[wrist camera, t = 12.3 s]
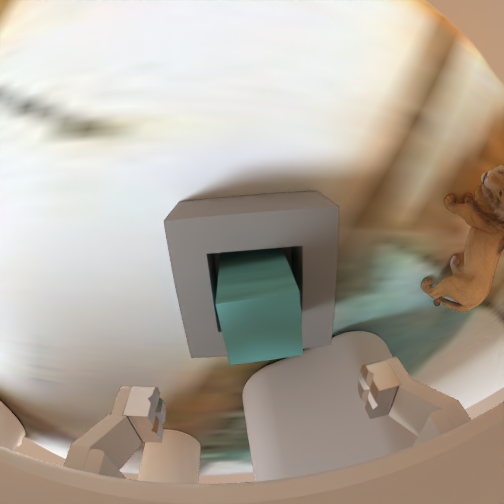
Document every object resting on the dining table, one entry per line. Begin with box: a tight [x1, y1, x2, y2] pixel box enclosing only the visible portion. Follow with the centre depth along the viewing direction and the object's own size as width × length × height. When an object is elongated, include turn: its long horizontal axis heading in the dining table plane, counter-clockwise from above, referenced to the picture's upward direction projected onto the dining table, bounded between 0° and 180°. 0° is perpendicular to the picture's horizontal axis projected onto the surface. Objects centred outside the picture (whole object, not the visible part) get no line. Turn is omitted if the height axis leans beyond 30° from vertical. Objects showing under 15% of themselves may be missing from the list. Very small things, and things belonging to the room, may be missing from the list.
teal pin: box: [216, 247, 303, 365], centre depth 19 cm, size 4×4×8 cm
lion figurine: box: [421, 164, 504, 312], centre depth 19 cm, size 15×5×9 cm, turn 1°
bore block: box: [164, 191, 339, 358], centre depth 21 cm, size 10×10×5 cm
